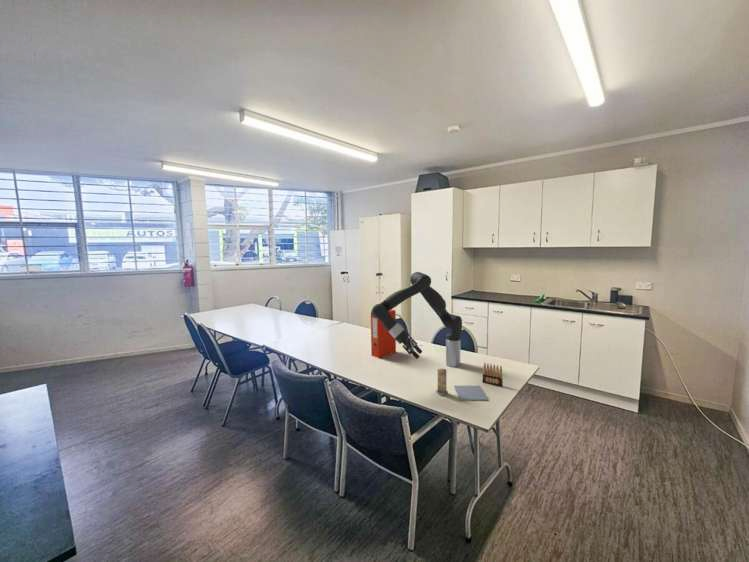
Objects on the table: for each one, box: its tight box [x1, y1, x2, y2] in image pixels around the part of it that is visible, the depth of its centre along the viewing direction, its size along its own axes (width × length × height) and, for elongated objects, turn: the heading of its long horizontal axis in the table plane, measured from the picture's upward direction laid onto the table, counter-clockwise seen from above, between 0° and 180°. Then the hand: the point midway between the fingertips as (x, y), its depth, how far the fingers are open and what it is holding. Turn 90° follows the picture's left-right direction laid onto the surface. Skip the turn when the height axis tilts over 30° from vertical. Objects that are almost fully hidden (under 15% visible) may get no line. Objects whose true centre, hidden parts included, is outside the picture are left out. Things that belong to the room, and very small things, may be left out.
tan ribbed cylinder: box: [435, 367, 449, 397], centre depth 169 cm, size 6×6×13 cm
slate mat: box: [453, 385, 489, 402], centre depth 169 cm, size 16×14×1 cm
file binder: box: [370, 309, 397, 359], centre depth 231 cm, size 8×17×32 cm, turn 132°
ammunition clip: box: [482, 362, 504, 388], centre depth 179 cm, size 11×2×12 cm, turn 54°
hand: (419, 355), depth 171 cm, fingers open, 8 cm apart
